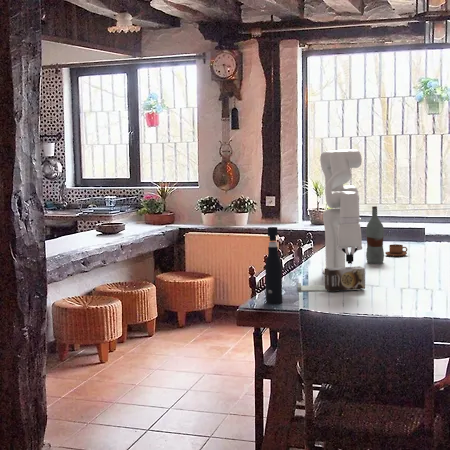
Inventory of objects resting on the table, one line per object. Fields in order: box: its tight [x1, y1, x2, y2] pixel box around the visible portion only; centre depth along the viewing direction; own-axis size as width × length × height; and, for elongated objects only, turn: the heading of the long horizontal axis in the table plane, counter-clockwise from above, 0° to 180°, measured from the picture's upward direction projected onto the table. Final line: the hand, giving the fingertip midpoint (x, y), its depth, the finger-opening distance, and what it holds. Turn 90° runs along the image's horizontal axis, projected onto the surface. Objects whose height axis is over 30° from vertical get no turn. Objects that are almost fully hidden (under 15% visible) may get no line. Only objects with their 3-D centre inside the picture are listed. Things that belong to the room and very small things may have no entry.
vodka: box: [365, 206, 385, 265], centre depth 369 cm, size 9×9×30 cm
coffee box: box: [324, 265, 366, 292], centre depth 297 cm, size 9×6×16 cm
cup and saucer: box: [384, 243, 408, 257], centre depth 393 cm, size 12×12×6 cm
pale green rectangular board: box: [297, 282, 361, 292], centre depth 302 cm, size 10×26×2 cm, turn 85°
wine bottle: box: [264, 226, 283, 305], centre depth 276 cm, size 6×6×30 cm
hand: (349, 263), depth 300 cm, fingers closed
